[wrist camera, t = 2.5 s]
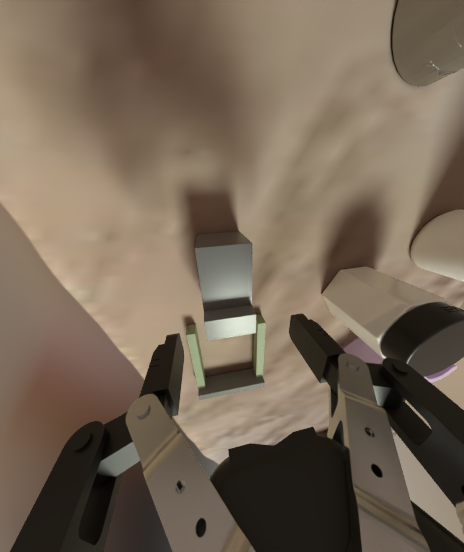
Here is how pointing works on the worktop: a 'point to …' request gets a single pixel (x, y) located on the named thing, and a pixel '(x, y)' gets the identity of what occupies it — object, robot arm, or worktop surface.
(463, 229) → the alcohol
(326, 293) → the jar
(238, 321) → the upright grey block
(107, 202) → the worktop surface
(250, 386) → the deck socket
